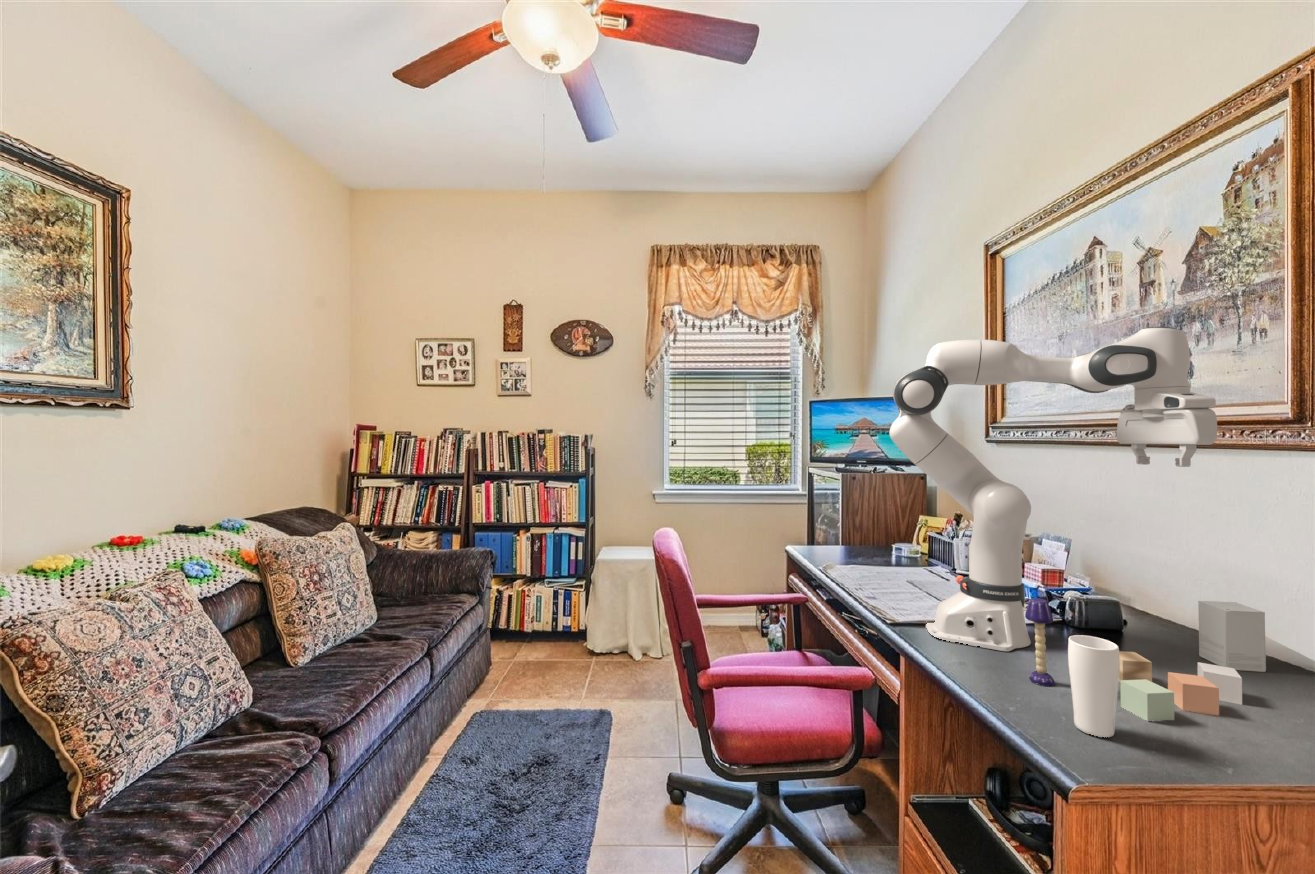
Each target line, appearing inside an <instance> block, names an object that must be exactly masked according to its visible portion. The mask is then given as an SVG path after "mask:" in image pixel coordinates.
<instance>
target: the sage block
mask: <svg viewBox="0 0 1315 874" xmlns="http://www.w3.org/2000/svg"><path fill="white" fill-rule="evenodd" d="M1119 683H1120V685H1119V686H1120V708H1121V707H1122V709H1123V708H1124V710H1125V709H1126V710H1125V711H1127V712H1129V711H1130V712H1129V713H1131V712H1132V713H1133V715H1134V714H1135V716H1136V717H1138V716H1139V717H1138V718H1140V717H1141V718H1140V719H1142V720H1144V721H1145V720H1147V721H1152V720H1154V721H1152V722H1157V721H1156V720H1174V721H1175V704H1174V692H1172V691H1170V690H1168V688H1165V687H1163V686H1161V685H1159V684H1158V683H1155V682H1153V681H1152V682H1151V681H1148V680H1146V679H1142V680H1120V682H1119ZM1132 713H1131V714H1132ZM1147 721H1146V722H1147Z"/></svg>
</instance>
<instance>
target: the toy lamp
mask: <svg viewBox="0 0 1315 874" xmlns="http://www.w3.org/2000/svg"><path fill="white" fill-rule="evenodd" d="M1024 618H1025V619H1026V620H1028V621H1030V622H1032V623H1034V634H1035V636H1034V641H1035V643H1034V646H1035V663H1036V666H1035V671H1032V672H1031V673H1030V675H1029V677H1028V679H1030V680H1031V681H1032V682H1031V681H1030V680H1029V681H1030V682H1031V683H1033V682H1034V683H1033V684H1035V683H1038V684H1040V685H1039V686H1042V685H1043V687H1054V686H1055V685H1056V682H1055V679H1054V678H1053V676H1052V675H1051V674H1049V673H1048V669H1047V659H1046V658H1047V652H1046V651H1047V646H1046V641H1047V640H1046V636H1045V635H1046V629H1045V627H1046V624H1051V623H1053V622H1054V617H1053V615H1052V611H1051V609H1050V606H1049V603H1048V601H1047V600H1046V599H1043V598H1040V597H1039V598H1038V597H1033V598H1030V599H1029V600H1028V603H1027V607H1026V610H1025V613H1024ZM1038 684H1037V685H1038Z"/></svg>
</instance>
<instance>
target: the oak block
mask: <svg viewBox="0 0 1315 874" xmlns="http://www.w3.org/2000/svg"><path fill="white" fill-rule="evenodd" d="M1119 658H1120V672H1119V683H1120V680H1142V679H1146V680H1148V681H1151V682H1153V662H1152V661H1150V660H1149V659H1147V658H1145V657H1143V656H1142V655H1140V654H1138V653H1137V652H1136V651H1121V650H1119Z"/></svg>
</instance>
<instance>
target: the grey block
mask: <svg viewBox="0 0 1315 874" xmlns="http://www.w3.org/2000/svg"><path fill="white" fill-rule="evenodd" d="M1197 676H1203V677H1204V678H1205V679H1207V680H1208V681H1210V682H1211V683H1212V684H1214V685H1215V686H1217V687H1218V688H1219V701H1222V702H1228V703H1230V704H1231V703H1233V704H1236V705H1241V706H1242V705H1243V677H1242V676H1241V675H1240V674H1239V673H1238V670H1235V669H1234V668H1229V667H1223V666H1219V665H1217V664H1211V663H1205V662H1197Z"/></svg>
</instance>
